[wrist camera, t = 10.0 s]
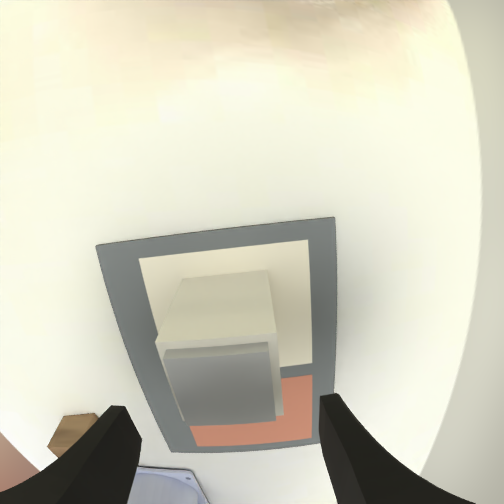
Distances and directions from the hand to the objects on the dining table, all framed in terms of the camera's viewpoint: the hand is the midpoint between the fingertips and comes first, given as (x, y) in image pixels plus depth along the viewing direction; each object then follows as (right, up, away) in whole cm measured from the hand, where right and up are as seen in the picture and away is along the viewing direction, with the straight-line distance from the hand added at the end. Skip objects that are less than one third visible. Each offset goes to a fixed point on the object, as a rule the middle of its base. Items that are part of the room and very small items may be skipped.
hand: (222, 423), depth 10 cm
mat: (0, -1, +9) cm, 9 cm away
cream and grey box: (0, +3, +7) cm, 8 cm away
